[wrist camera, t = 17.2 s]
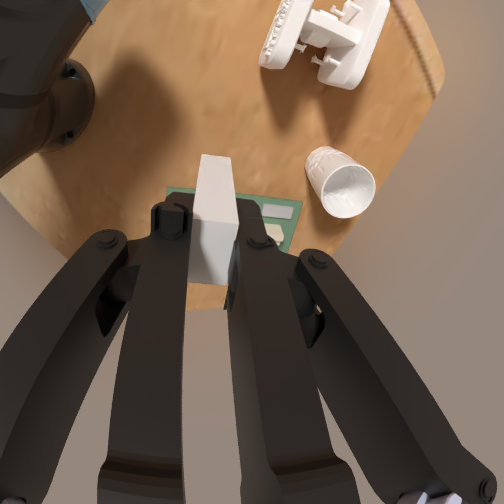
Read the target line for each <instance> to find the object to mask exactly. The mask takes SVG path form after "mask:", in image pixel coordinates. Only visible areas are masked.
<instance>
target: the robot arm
mask: <svg viewBox="0 0 504 504" xmlns="http://www.w3.org/2000/svg"><path fill="white" fill-rule="evenodd" d="M108 2H109V0H0V178H1V177H3V176H4V175H5V174H7V173H8V172H9V171H10V170H12V169H13V168H14V167H16V166H17V165H19V164H20V163H21V162H23V161H24V160H26V159H27V158H28V157H30V156H31V155H33V154H34V153H39V152H51V151H56V150H59V149H61V148H63V147H65V146H66V145H68V144H69V143H71V142H72V141H74V140H75V139H76V138H77V137H78V136H79V135H80V134H81V133H82V132H83V130H84V129H85V127H86V126H87V124H88V122H89V119H90V117H91V114H92V110H93V105H94V88H93V84H92V80H91V78H90V75H89V73H88V72H87V70H86V69H85V68H84V67H83V66H82V65H81V64H80V63H79V62H77V61H75V60H73V59H69V56H70V55H71V53H72V51H73V50H74V48H75V47H76V46H77V44H78V43H79V41H80V40H81V38H82V37H83V36H84V34H85V33H86V31H87V30H88V29H89V27H90V26H91V25H93V24H94V23H95V21H96V17H97V16H98V15H99V13H100V12H101V11H102V9H103V8H104V7H105V5H106V4H107V3H108ZM227 279H228V285H229V286H228V290H227V295H226V300H225V305H224V310H226V309H227V313H228V329H229V342H230V343H229V344H230V357H231V369H232V382H233V393H234V405H235V416H236V426H237V436H238V446H239V455H240V463H241V474H242V481H241V487H240V492H241V493H240V494H241V504H361V503H360V499H359V494H358V490H357V485H356V481H355V477H354V475H353V472H352V469H351V468H350V467H349V465H348V464H347V463H346V462H345V461H343V460H342V459H340V458H338V457H337V456H336V455H335V453H334V451H333V448H332V445H331V441H330V437H329V432H328V428H327V424H326V421H325V416H324V412H323V408H322V404H321V400H320V396H319V392H318V389H319V391H320V393H321V394H322V396H323V398H324V400H325V402H326V404H327V406H328V408H329V409H330V411H331V413H332V415H333V417H334V419H335V421H336V423H337V424H338V426H339V428H340V430H341V432H342V434H343V436H344V438H345V439H346V441H347V443H348V445H349V447H350V449H351V451H352V453H353V454H354V456H355V458H356V460H357V462H358V464H359V466H360V467H361V469H362V471H363V473H364V475H365V477H366V479H367V480H368V482H369V483H370V485H371V487H372V488H373V490H374V492H375V493H376V494H377V495H378V496H379V498H380V499H381V500H382V501H383V502H384V503H385V504H492V502H493V500H494V498H495V495H496V491H497V482H496V477H495V476H494V474H493V473H492V472H491V471H490V470H489V469H488V468H486V467H485V466H484V465H483V464H482V463H481V462H480V461H479V460H478V459H476V458H475V457H474V456H473V455H472V454H471V453H470V452H469V451H467V450H466V449H465V448H464V447H463V446H462V445H461V443H460V441H459V440H458V438H457V436H456V434H455V433H454V431H453V429H452V427H451V426H450V424H449V422H448V421H447V419H446V417H445V416H444V414H443V412H442V411H441V409H440V408H439V406H438V405H437V403H436V401H435V400H434V398H433V396H432V395H431V394H430V392H429V390H428V389H427V387H426V385H425V384H424V382H423V381H422V379H421V378H420V376H419V375H418V373H417V372H416V370H415V369H414V367H413V366H412V364H411V363H410V361H409V360H408V359H407V357H406V356H405V354H404V353H403V352H402V350H401V349H400V347H399V346H398V344H397V343H396V341H395V340H394V339H393V337H392V336H391V334H390V333H389V332H388V330H387V329H386V327H385V326H384V325H383V323H382V322H381V321H380V319H379V318H378V316H377V315H376V314H375V312H374V311H373V310H372V308H371V307H370V306H369V304H368V303H367V302H366V301H365V299H364V298H363V296H362V295H361V294H360V292H359V291H358V290H357V289H356V287H355V286H354V285H353V283H352V282H351V281H350V280H349V278H348V277H347V276H346V275H345V273H344V272H343V271H342V269H341V268H340V267H339V266H338V264H337V263H336V262H335V261H334V260H333V258H331V257H330V256H329V255H328V254H326V253H324V252H323V251H321V250H317V249H305V250H303V251H302V252H301V253H300V255H299V257H296V256H293V255H290V254H287V253H285V252H282V251H280V250H279V249H278V246H277V243H276V242H275V240H274V239H273V238H272V237H270V236H269V235H267V232H266V228H265V225H264V221H263V219H262V214H261V210H260V207H259V205H258V204H257V203H256V202H255V201H254V200H250V199H242V198H235V190H234V183H233V175H232V168H231V160H230V158H228V157H221V156H213V155H205V154H202V156H201V162H200V168H199V174H198V180H197V186H196V192H195V194H193V193H183V192H172V193H171V194H169V195H168V196H167V197H166V200H165V202H160V203H158V204H156V205H154V206H153V207H152V209H151V233H150V235H149V236H148V237H145V238H142V239H137V240H129V241H127V238H126V236H125V235H124V233H122V232H120V231H118V230H112V229H107V230H102V231H99V232H96V233H95V234H93V235H92V236H91V237H90V238H89V239H88V240H87V241H86V242H85V243H84V244H83V245H82V246H81V247H80V248H79V249H78V250H77V252H76V253H75V254H74V255H73V256H72V257H71V258H70V259H69V260H68V262H67V263H66V264H65V265H64V266H63V267H62V268H61V270H60V271H59V272H58V273H57V274H56V276H55V277H54V278H53V279H52V280H51V282H50V283H49V284H48V285H47V286H46V288H45V289H44V290H43V291H42V293H41V294H40V295H39V296H38V298H37V299H36V300H35V302H34V303H33V304H32V306H31V307H30V308H29V310H28V311H27V312H26V314H25V315H24V316H23V318H22V319H21V321H20V322H19V324H18V325H17V326H16V328H15V330H14V331H13V333H12V334H11V335H10V337H9V338H8V340H7V341H6V343H5V344H4V346H3V348H2V349H1V351H0V504H41V503H42V502H43V500H44V498H45V496H46V494H47V492H48V490H49V487H50V485H51V482H52V479H53V476H54V473H55V470H56V467H57V465H58V462H59V459H60V456H61V453H62V451H63V448H64V446H65V443H66V440H67V438H68V435H69V433H70V430H71V428H72V425H73V423H74V421H75V418H76V416H77V414H78V411H79V409H80V406H81V404H82V402H83V400H84V398H85V395H86V393H87V391H88V389H89V387H90V385H91V382H92V380H93V378H94V376H95V374H96V372H97V370H98V368H99V366H100V364H101V362H102V360H103V358H104V356H105V354H106V352H107V350H108V348H109V346H110V344H111V342H112V340H113V338H114V336H115V334H116V333H117V330H118V329H119V327H120V325H121V323H122V322H123V320H124V318H125V316H126V314H127V312H128V311H129V313H128V317H127V322H126V326H125V331H124V336H123V341H122V346H121V351H120V356H119V362H118V367H117V374H116V380H115V387H114V394H113V401H112V409H111V418H110V428H109V440H108V452H107V457H106V461H105V462H104V464H103V465H102V467H101V468H100V472H99V476H98V486H97V504H186V501H185V488H184V471H183V447H182V446H183V445H182V369H183V368H182V367H183V343H184V323H185V307H186V293H187V282H191V283H202V284H214V285H226V284H227ZM317 305H318V306H319V308H320V309H321V311H322V312H321V313H320V312H319V311H318V310H317V308H316V307H317ZM317 387H318V388H317Z"/></svg>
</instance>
